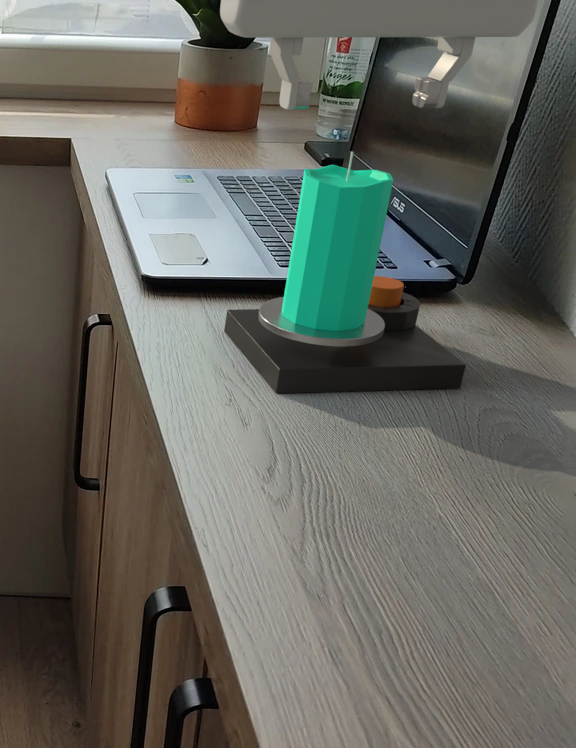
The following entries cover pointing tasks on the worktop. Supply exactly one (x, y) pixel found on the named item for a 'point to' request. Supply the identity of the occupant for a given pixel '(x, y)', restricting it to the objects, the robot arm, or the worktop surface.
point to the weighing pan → (282, 326)
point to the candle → (336, 246)
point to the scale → (349, 356)
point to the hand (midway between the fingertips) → (360, 107)
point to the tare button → (386, 292)
